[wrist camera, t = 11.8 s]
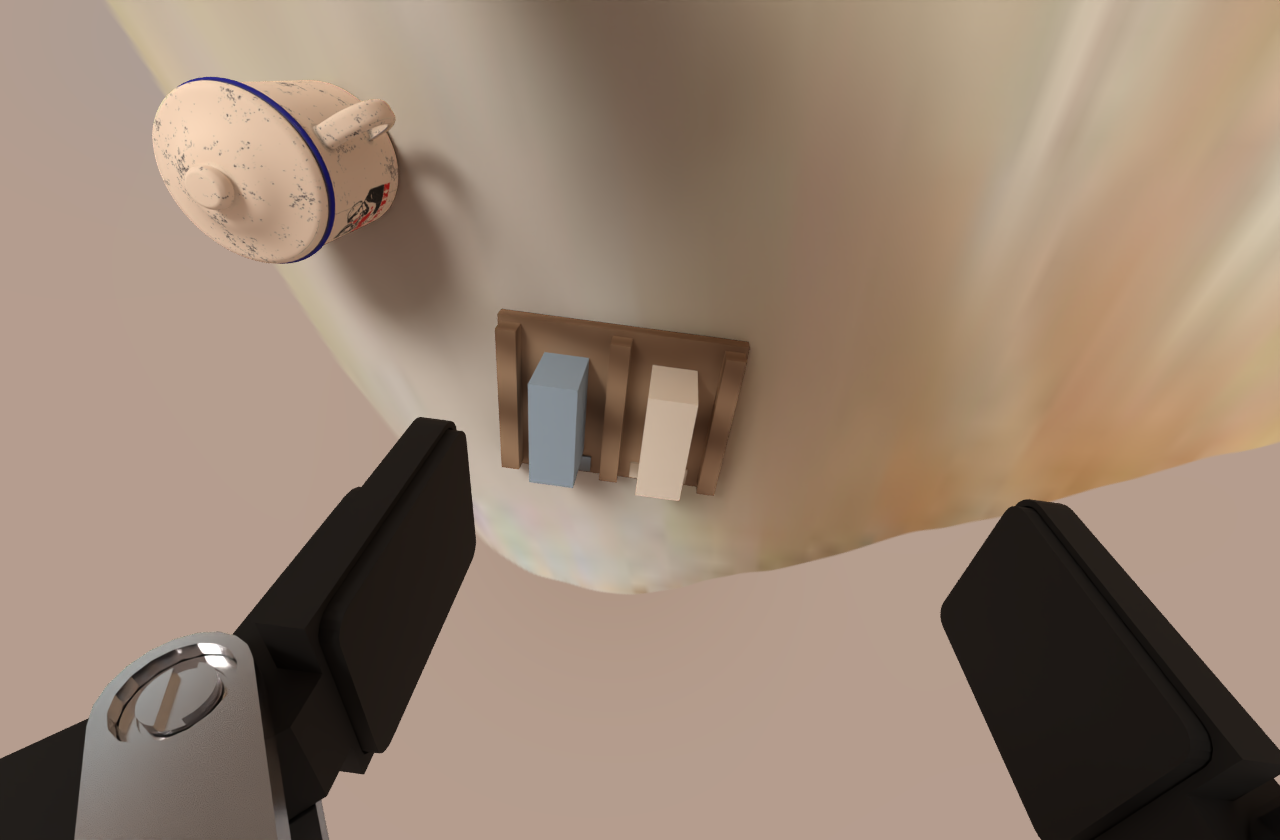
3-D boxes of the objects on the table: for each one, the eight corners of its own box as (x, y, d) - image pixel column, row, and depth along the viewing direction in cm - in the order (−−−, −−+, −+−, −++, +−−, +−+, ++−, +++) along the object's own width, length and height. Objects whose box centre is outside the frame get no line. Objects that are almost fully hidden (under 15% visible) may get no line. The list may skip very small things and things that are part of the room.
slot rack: (501, 309, 40) (491, 322, 38) (748, 342, 40) (751, 356, 38) (507, 453, 48) (499, 471, 46) (714, 481, 48) (715, 500, 46)
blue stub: (544, 352, 41) (527, 383, 37) (589, 358, 41) (577, 390, 37) (543, 444, 46) (529, 482, 42) (583, 450, 46) (573, 487, 42)
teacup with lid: (333, 247, 39) (213, 307, 29) (236, 117, 34) (58, 136, 25) (466, 175, 35) (380, 215, 25) (377, 20, 31) (233, -2, 21)
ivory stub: (652, 364, 41) (648, 398, 37) (697, 370, 41) (698, 405, 37) (640, 456, 46) (635, 495, 42) (680, 461, 46) (679, 501, 42)
